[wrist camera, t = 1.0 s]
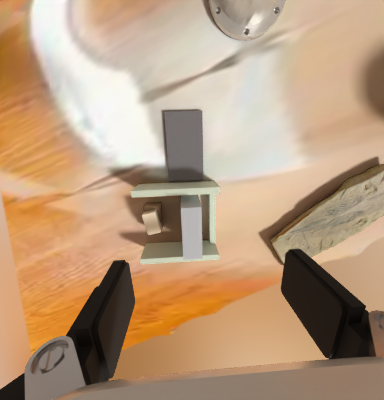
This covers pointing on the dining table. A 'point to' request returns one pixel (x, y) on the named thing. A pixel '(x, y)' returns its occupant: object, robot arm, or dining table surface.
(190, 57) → the dining table surface
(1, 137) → the dining table surface
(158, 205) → the offcut
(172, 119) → the panel
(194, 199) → the tall grey upright block
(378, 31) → the dining table surface
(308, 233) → the stone slab
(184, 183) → the rack
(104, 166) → the dining table surface
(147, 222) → the offcut
